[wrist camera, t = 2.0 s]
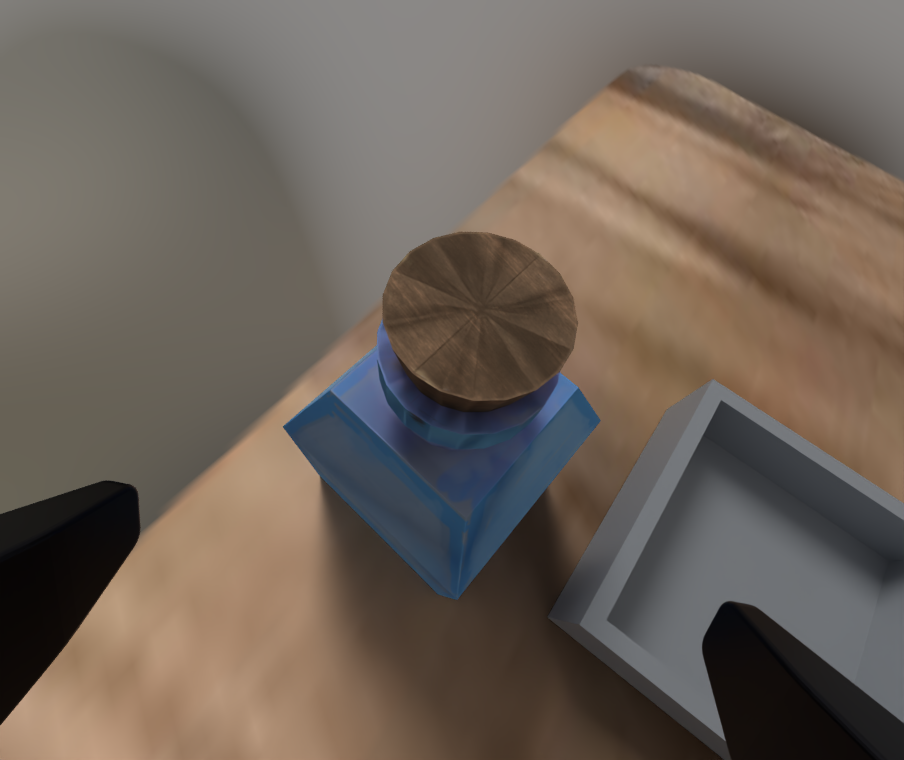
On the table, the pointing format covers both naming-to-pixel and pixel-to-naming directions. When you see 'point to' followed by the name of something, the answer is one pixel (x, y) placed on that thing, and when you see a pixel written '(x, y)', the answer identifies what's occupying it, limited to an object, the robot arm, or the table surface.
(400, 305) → the perfume bottle
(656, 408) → the table surface
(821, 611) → the tray
